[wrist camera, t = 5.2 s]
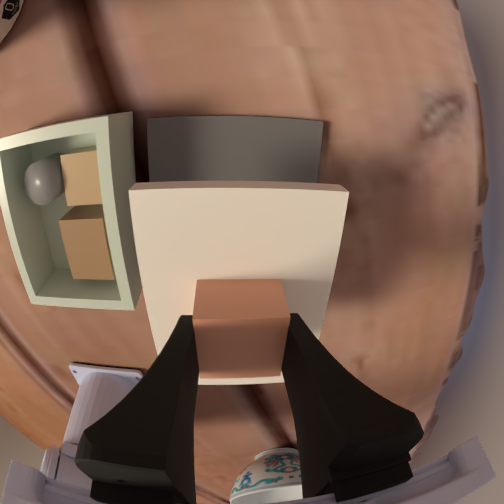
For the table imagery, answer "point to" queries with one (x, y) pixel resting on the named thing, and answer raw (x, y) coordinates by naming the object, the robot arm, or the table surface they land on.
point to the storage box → (73, 211)
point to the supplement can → (8, 15)
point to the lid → (237, 267)
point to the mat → (233, 148)
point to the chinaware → (269, 478)
